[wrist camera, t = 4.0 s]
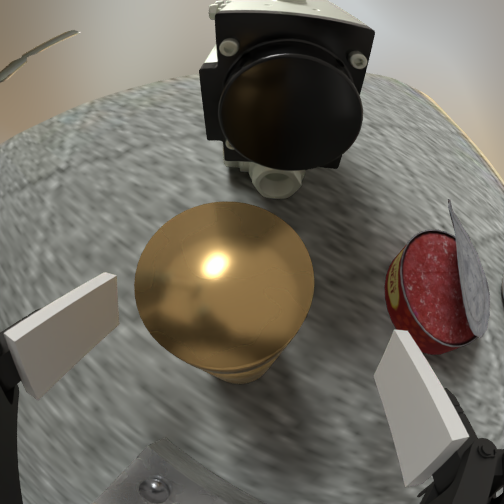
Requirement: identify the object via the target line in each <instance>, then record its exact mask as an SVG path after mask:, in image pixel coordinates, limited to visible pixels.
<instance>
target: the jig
mask: <svg viewBox="0 0 504 504" xmlns="http://www.w3.org/2000/svg"><path fill="white" fill-rule="evenodd" d="M92 504H266V503H264V502H262V501H260V500H258V499H256V498H254V497H253V496H251V495H249V494H247V493H245V492H243V491H242V490H240V489H238V488H237V487H235V486H233V485H232V484H230V483H228V482H227V481H225V480H223V479H222V478H220V477H219V476H217V475H216V474H214V473H213V472H211V471H210V470H208V469H207V468H205V467H204V466H202V465H201V464H199V463H198V462H197V461H195V460H194V459H192V458H191V457H190V456H188V455H187V454H186V453H184V452H183V451H182V450H181V449H179V448H178V447H177V446H175V445H174V444H173V443H172V442H170V441H169V440H168V439H167V438H164V439H161V440H159V441H157V442H155V443H152V444H150V445H148V446H147V447H146V448H145V449H144V450H143V451H142V452H141V453H140V454H139V455H138V456H137V458H136V459H135V460H134V461H133V462H132V463H131V464H130V465H129V466H128V467H127V468H126V469H125V470H124V471H123V472H122V473H121V475H120V476H119V477H118V478H117V479H116V480H115V481H114V482H113V483H112V484H111V485H110V486H109V487H108V488H107V489H106V490H105V491H104V492H103V493H102V494H101V495H100V496H99V497H98V498H97V499H96V500H95V501H94V502H93V503H92Z"/></svg>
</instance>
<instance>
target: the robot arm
mask: <svg viewBox="0 0 504 504" xmlns="http://www.w3.org/2000/svg"><path fill="white" fill-rule="evenodd" d="M118 325H119V312H118V297H117V276H116V275H113V274H109V273H106V272H104V273H102V274H100V275H99V276H97V277H95V278H93V279H91V280H90V281H88V282H86V283H84V284H83V285H81V286H79V287H77V288H76V289H74V290H72V291H71V292H69V293H67V294H65V295H64V296H62V297H60V298H59V299H57V300H55V301H54V302H52V303H50V304H49V305H47V306H45V307H44V308H41V309H38V310H35V311H34V312H32V313H31V314H29V315H28V316H26V317H24V318H23V319H22V320H19V321H18V322H16V323H15V324H13V325H12V326H10V327H8V328H7V329H5V330H4V331H2V332H1V333H0V504H23V501H22V495H21V488H20V480H19V471H18V456H17V414H18V399H19V387H18V385H17V384H18V383H19V382H20V381H22V384H23V386H24V388H25V390H26V392H27V393H29V394H30V395H31V396H33V397H34V398H35V399H37V400H39V399H40V398H41V397H42V396H43V395H44V394H45V393H46V392H47V391H48V390H49V389H50V388H51V387H52V386H53V385H54V384H56V383H57V382H58V381H59V380H60V379H61V378H62V377H63V376H64V375H65V374H66V373H67V372H68V371H69V370H70V369H71V368H72V367H73V366H74V365H75V364H77V363H78V362H79V361H80V360H81V359H82V358H83V357H84V356H85V355H86V354H87V353H88V352H89V351H91V350H92V349H93V348H94V347H95V346H96V345H97V344H98V343H99V342H100V341H101V340H102V339H104V338H105V337H106V336H107V335H108V334H109V333H110V332H111V331H112V330H114V329H115V328H116V327H117V326H118ZM374 379H375V382H376V385H377V388H378V391H379V394H380V397H381V401H382V404H383V407H384V410H385V413H386V417H387V420H388V423H389V427H390V430H391V434H392V437H393V441H394V444H395V448H396V452H397V456H398V459H399V463H400V467H401V471H402V476H403V480H404V484H405V487H409V486H414V485H419V484H423V483H424V482H425V481H426V480H427V479H428V478H429V477H431V476H433V479H434V482H432V483H431V484H430V485H429V486H428V487H426V488H425V489H424V490H423V491H422V492H420V493H419V495H418V496H417V497H420V496H422V495H423V494H424V493H425V495H424V497H423V498H422V500H421V502H420V504H504V449H497V448H496V446H495V445H494V444H493V443H492V442H491V441H490V440H488V439H485V438H479V439H478V438H477V436H476V434H475V432H474V430H473V428H472V426H471V424H470V422H469V420H468V419H467V417H466V415H465V414H463V412H464V411H463V410H462V408H461V407H460V404H459V402H458V401H457V399H456V397H455V396H454V395H453V394H452V393H451V392H450V391H449V390H448V389H447V388H443V387H442V385H441V383H440V381H439V380H438V378H437V376H436V375H435V373H434V371H433V370H432V368H431V366H430V365H429V363H428V362H427V360H426V358H425V357H424V355H423V354H422V352H421V350H420V349H419V347H418V346H417V344H416V343H415V341H414V340H413V338H412V337H411V335H410V334H409V332H408V331H404V330H395V329H394V331H393V333H392V336H391V338H390V341H389V343H388V345H387V348H386V350H385V352H384V354H383V357H382V359H381V361H380V363H379V365H378V367H377V370H376V372H375V374H374ZM502 487H503V493H502V494H501V495H500V496H499V497H497V498H496V492H497V491H499V490H500V489H501V488H502Z"/></svg>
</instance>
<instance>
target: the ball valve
mask: <svg viewBox="0 0 504 504" xmlns="http://www.w3.org/2000/svg"><path fill="white" fill-rule="evenodd" d="M209 17H210V19H211V20H215V30H216V45H215V47H214V48H213V49H212V51H211V52H210V54H209V56H208V57H207V59H206V60H205V62H204V64H203V65H202V67H201V69H200V70H199V76H200V85H201V94H202V102H203V111H204V119H205V127H206V135H207V139H208V140H220V141H223V160H224V164H225V166H226V167H240V172H249V175H250V177H251V179H252V183H253V185H254V186H255V188H256V189H257V190H258V192H259V193H260V194H261V195H262V196H263V197H267V198H272V199H285V198H288V197H290V196H291V195H293V194H294V193H295V192H296V191H297V190H298V189H299V188H300V187H301V186H302V183H301V181H302V180H303V178H304V175H305V170H308V169H313V168H316V167H324V168H333V169H337V168H338V167H339V163H340V160H341V157H342V154H344V153H345V152H346V151H347V150H348V149H349V148H350V147H351V146H352V144H353V143H354V141H355V140H356V138H357V136H358V134H359V132H360V129H361V126H362V121H363V107H362V102H361V98H360V92H361V88H362V85H363V81H364V77H365V73H366V69H367V65H368V61H369V57H370V52H371V48H372V44H373V40H374V35H375V32H374V30H372V29H371V28H370V27H368V26H367V25H365V24H364V23H362V22H361V21H360V20H358V19H357V18H355V17H354V16H352V15H350V14H349V13H347V12H346V11H344V10H343V9H341V8H339V7H338V6H336V5H334V4H333V3H331V2H329V1H327V0H232V1H226V4H224V2H223V1H216V2H215V4H212V5H210V7H209Z"/></svg>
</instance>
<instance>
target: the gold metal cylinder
mask: <svg viewBox="0 0 504 504" xmlns="http://www.w3.org/2000/svg"><path fill="white" fill-rule="evenodd" d="M134 287H135V299H136V304H137V308H138V311H139V314H140V317H141V319H142V321H143V323H144V325H145V327H146V328H147V330H148V331H149V332H150V334H151V335H152V337H153V338H154V339H155V340H156V341H157V342H158V343H159V344H160V345H161V346H162V347H164V348H165V349H166V350H168V351H169V352H170V353H172V354H173V355H175V356H176V357H177V358H179V359H181V360H183V361H185V362H186V363H188V364H190V365H192V366H194V367H196V368H199V369H201V370H203V371H205V372H207V373H209V374H211V375H213V376H215V377H217V378H219V379H221V380H223V381H226V382H229V383H233V384H245V383H250V382H253V381H255V380H257V379H258V378H260V377H261V376H262V375H263V374H265V372H266V371H267V370H268V369H269V368H270V366H271V365H272V364H273V363H274V361H275V360H276V359H277V357H278V356H279V355H280V354H281V352H282V351H283V350H284V349H285V348H286V346H287V345H288V344H289V343H290V342H291V340H292V339H293V338H294V336H295V335H296V334H297V332H298V330H299V329H300V327H301V325H302V323H303V322H304V320H305V318H306V316H307V314H308V311H309V309H310V306H311V302H312V298H313V292H314V271H313V266H312V262H311V259H310V256H309V253H308V251H307V249H306V247H305V245H304V243H303V242H302V240H301V239H300V237H299V236H298V234H297V233H296V232H295V231H294V230H293V229H292V228H291V227H290V226H289V225H288V224H287V223H286V222H285V221H283V220H282V219H281V218H279V217H278V216H276V215H275V214H273V213H271V212H269V211H267V210H265V209H262V208H260V207H257V206H254V205H250V204H246V203H239V202H214V203H209V204H203V205H200V206H197V207H194V208H191V209H189V210H186V211H184V212H182V213H180V214H179V215H177V216H175V217H174V218H172V219H171V220H169V221H168V222H167V223H165V224H164V225H163V226H162V227H161V228H160V229H159V230H158V231H157V232H156V233H155V234H154V235H153V236H152V238H151V239H150V241H149V242H148V244H147V245H146V247H145V249H144V251H143V252H142V254H141V257H140V260H139V262H138V265H137V270H136V274H135V284H134Z"/></svg>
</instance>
